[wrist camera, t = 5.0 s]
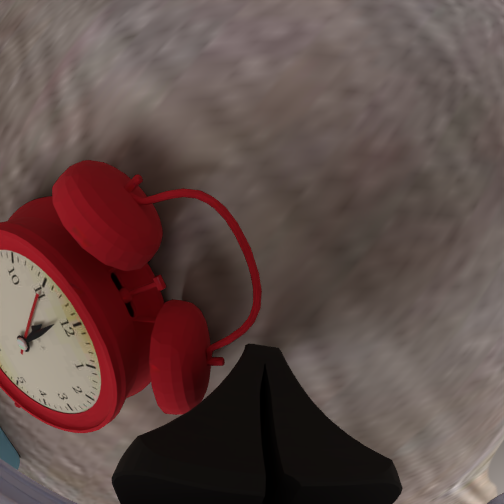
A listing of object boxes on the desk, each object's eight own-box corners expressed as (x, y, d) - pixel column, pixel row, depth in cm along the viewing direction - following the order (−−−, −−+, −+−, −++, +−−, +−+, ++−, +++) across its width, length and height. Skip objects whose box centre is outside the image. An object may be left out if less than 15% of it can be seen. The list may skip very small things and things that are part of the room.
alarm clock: (-66, 269, 9) (57, 58, 3) (11, 233, 14) (204, 95, 9) (25, 433, 11) (273, 500, 6) (83, 376, 17) (307, 359, 11)
